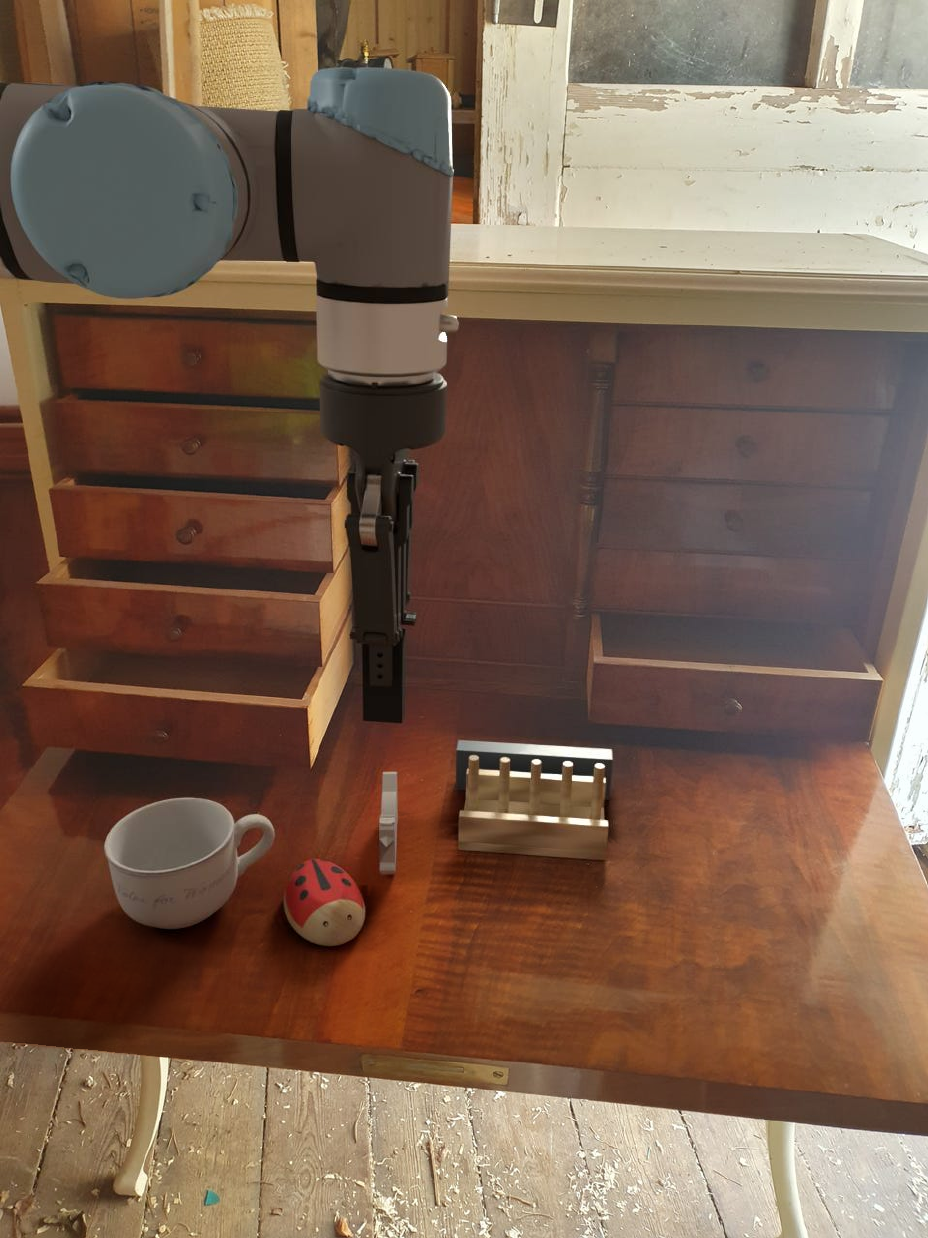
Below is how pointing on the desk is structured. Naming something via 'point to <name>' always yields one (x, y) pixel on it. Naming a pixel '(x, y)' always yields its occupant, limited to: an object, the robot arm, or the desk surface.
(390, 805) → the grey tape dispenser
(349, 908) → the ladybug figurine
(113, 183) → the robot arm
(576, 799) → the rack
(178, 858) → the teacup
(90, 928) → the desk surface
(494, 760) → the back rail
